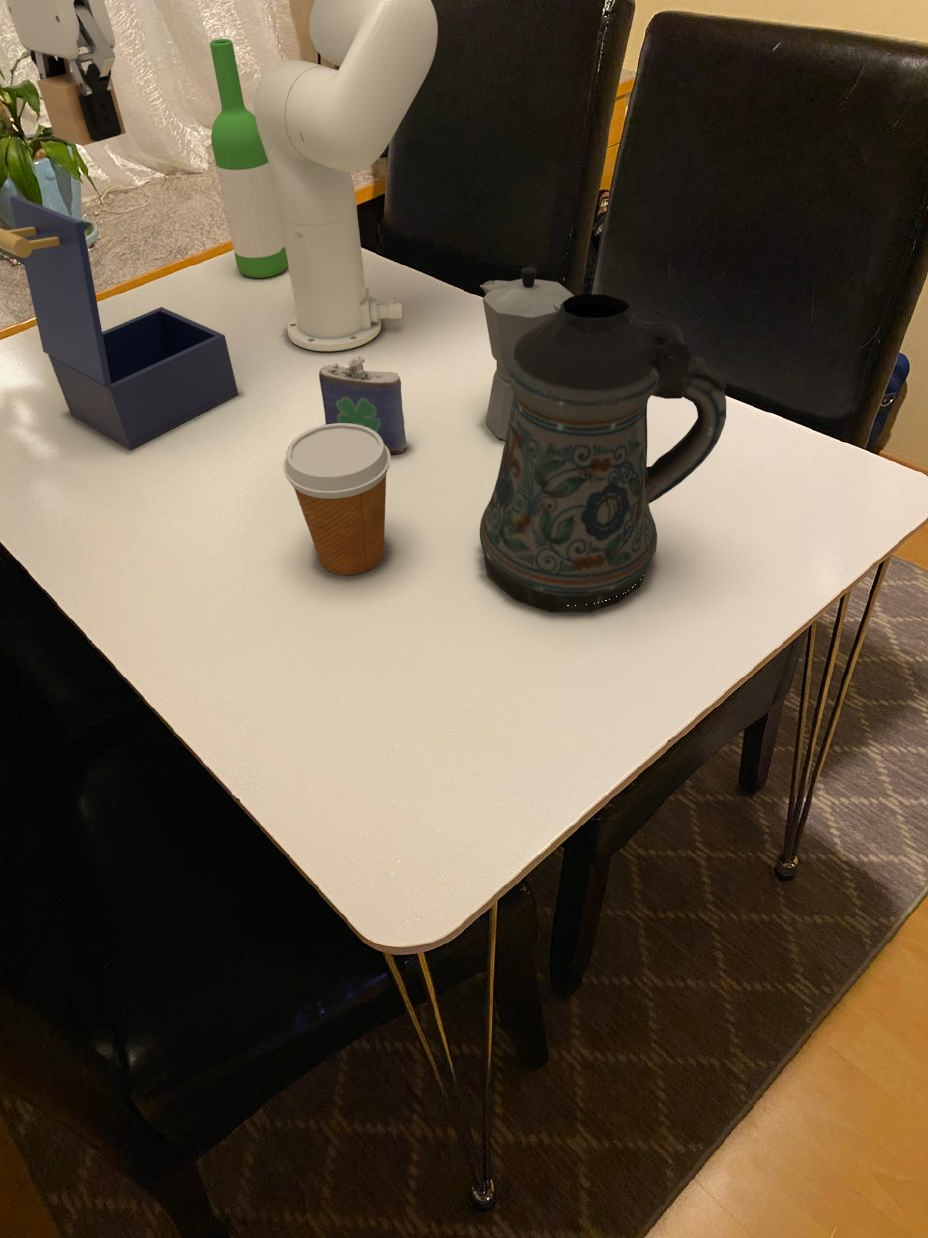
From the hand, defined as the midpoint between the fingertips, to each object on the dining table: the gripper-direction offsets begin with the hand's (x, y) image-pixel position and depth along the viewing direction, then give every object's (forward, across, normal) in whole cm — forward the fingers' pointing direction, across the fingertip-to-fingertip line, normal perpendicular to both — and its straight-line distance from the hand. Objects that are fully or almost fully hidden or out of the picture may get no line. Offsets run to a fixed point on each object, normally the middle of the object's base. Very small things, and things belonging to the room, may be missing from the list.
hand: (89, 130), depth 89 cm
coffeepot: (+30, -39, -22) cm, 54 cm away
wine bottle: (+30, +21, -33) cm, 49 cm away
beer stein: (+30, -57, -7) cm, 64 cm away
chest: (+30, 0, +2) cm, 30 cm away
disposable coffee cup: (+30, -39, +7) cm, 50 cm away
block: (0, 0, 0) cm, 0 cm away
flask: (+30, -27, -8) cm, 41 cm away
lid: (+14, 0, +8) cm, 16 cm away
